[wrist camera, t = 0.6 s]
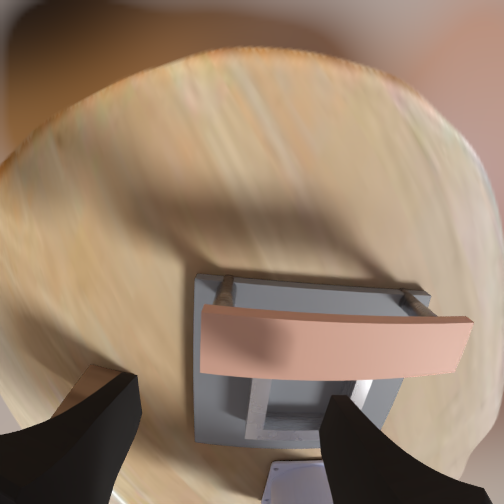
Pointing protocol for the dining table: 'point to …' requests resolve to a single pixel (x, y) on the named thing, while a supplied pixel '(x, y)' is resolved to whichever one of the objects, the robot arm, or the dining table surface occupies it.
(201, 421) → the socket board
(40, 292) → the dining table surface
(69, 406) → the walnut peg
